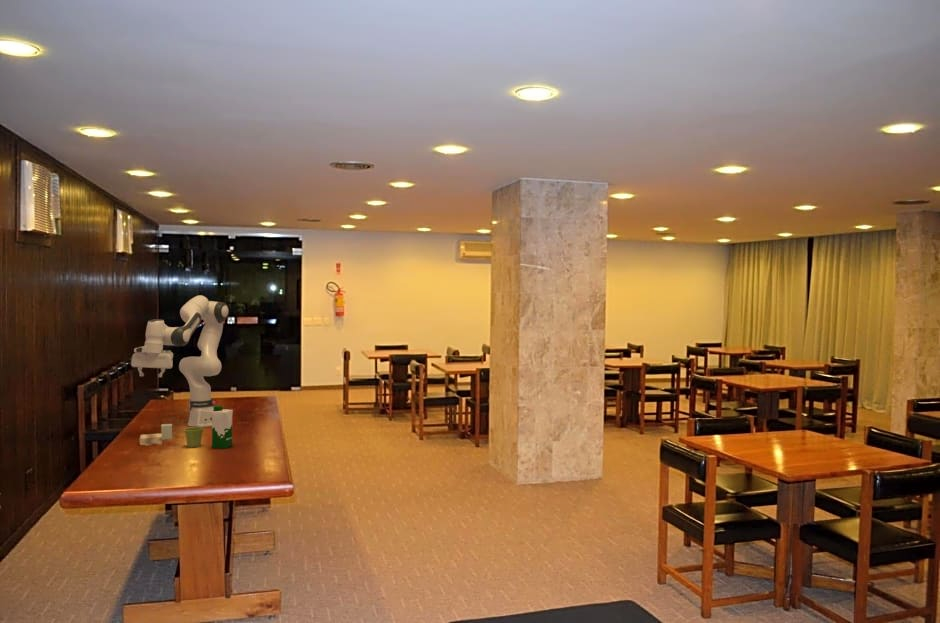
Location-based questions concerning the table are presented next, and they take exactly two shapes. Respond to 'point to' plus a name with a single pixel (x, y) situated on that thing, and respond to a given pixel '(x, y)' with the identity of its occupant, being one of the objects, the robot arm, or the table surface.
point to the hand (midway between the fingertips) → (150, 376)
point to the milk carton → (221, 427)
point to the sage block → (166, 431)
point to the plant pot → (193, 436)
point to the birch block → (151, 439)
